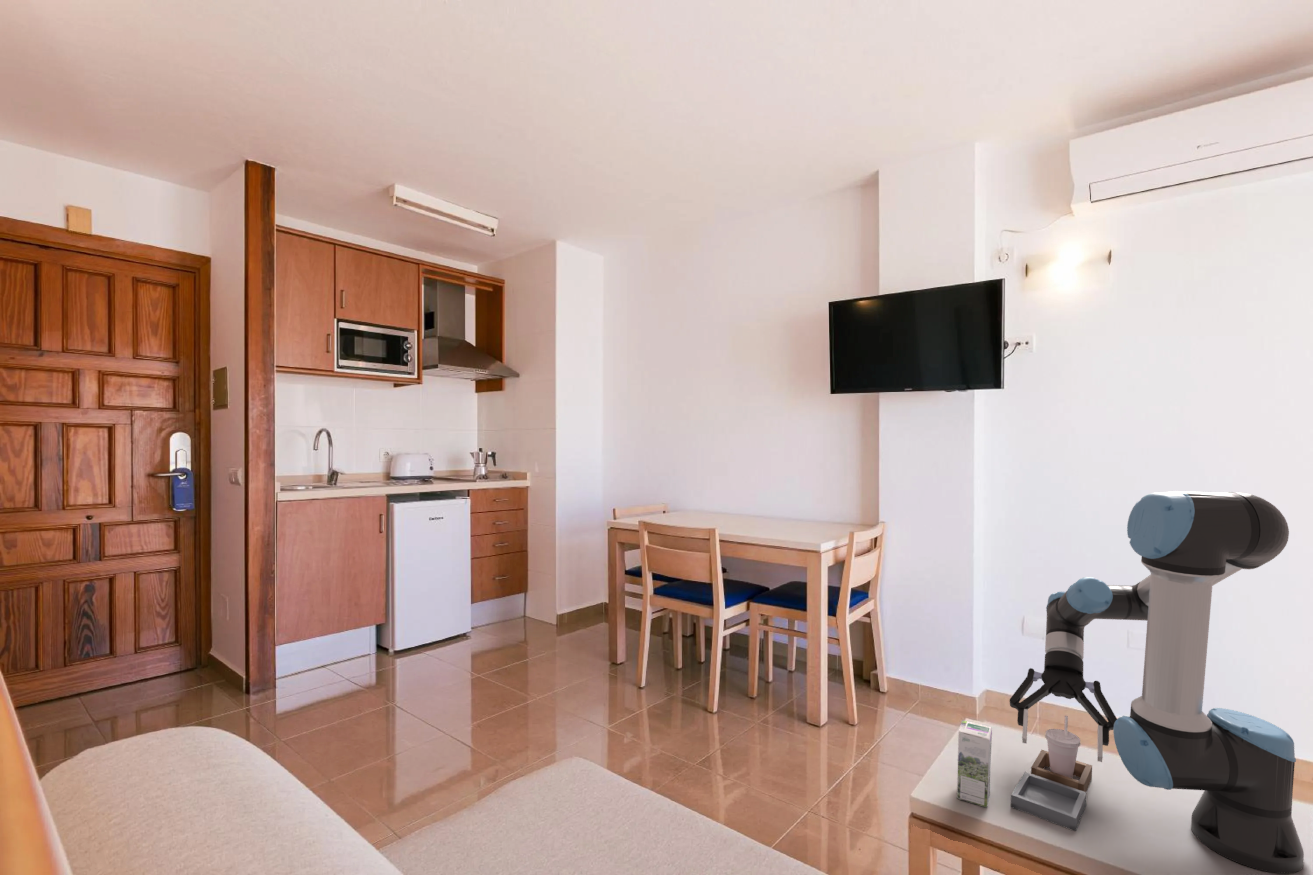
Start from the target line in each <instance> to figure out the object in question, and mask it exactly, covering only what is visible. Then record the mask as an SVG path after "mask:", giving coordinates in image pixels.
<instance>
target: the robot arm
mask: <svg viewBox="0 0 1313 875" xmlns="http://www.w3.org/2000/svg"><path fill="white" fill-rule="evenodd" d="M1127 520H1128V521H1127V525H1126V526H1127V528H1126V532H1127V534H1126V535H1127V538H1129V539H1130V540H1129V544H1130V545H1129V546H1130V547H1131V548H1132V550H1133V551H1134V552H1135V554H1137V555H1139V556H1141V561H1140V563H1141V564H1142V565H1143V566H1144V567H1145V568H1146V569H1147V570H1148V571H1149V572H1150V575H1148V576H1147V577H1145V578H1143V579H1142V580H1141V581H1139V582H1137V583H1136V584H1133V585H1120V584H1119V585H1117V584H1116V585H1115V584H1113V585H1112V584H1107V583H1106V582H1104V581H1103V580H1100V579H1097V578H1096V577H1093V576H1085V577H1082V578H1080V579H1078V580H1077V581H1075V582H1074V583H1073V584H1071V585H1069V587H1068V588H1067V590H1066V591H1057V592H1054V593H1051V594H1050V595H1049V596H1048V599H1047V604H1046V607H1045V609H1046V610H1045V611H1046V621H1045V622H1046V626H1045V627H1046V628H1045V643H1044V644H1045V645H1044V652H1045V654H1044V666H1043V668H1044V669H1043V672H1038V671H1035V669H1034V668H1031V667H1030V668H1029V669H1028V670H1027V676H1026V677H1025V678H1024V680H1023V681H1022V682H1021V684H1020V685H1019V687H1018V688H1017V689H1016V690H1015V692H1014V693H1013V694H1012V696H1011V697H1010V698H1009V707H1011V708H1013V709H1016V710H1017V725H1018V726H1021V727H1022V736H1021V737H1022V738H1021V739H1022V740H1021V742H1022V744H1027V740H1028V737H1027V736H1028V725H1029V724H1028V722H1029V709H1030V708H1032V707H1033V706H1035V704H1037V703H1038V702H1040V701H1041V700H1043V699H1044V698H1045V697H1048V696H1050V695H1053V696H1055V697H1057V698H1058V697H1060V698H1061V697H1062V698H1065V699H1067V700H1068V699H1069V700H1071V699H1075V700H1076V702H1078V704H1080V705H1081V707H1083V708H1084V710H1085V711H1086V712H1087V713H1088V715H1089V716H1090V717H1091V718H1092V719H1093V720H1094V722H1095V723H1096V724H1097V762H1101V763H1103V758H1104V756H1103V753H1104V752H1103V751H1104V750H1103V748H1104V747H1105V746H1106V747H1108V746H1109V744H1110V731H1113V740H1114V745H1115V747H1116V751H1117V753H1118V755H1119V758H1120V759H1121V762H1122V763H1123V765H1124V767H1125V768H1126V770H1127V772H1128V773H1129V774H1130V775H1131V776H1132V777H1133V779H1135V780H1136V781H1137V782H1139V784H1142V785H1143V786H1146V787H1150V788H1157V789H1159V788H1160V789H1164V790H1166V791H1167V790H1168V791H1169V790H1172V789H1173V790H1188V791H1189V790H1193V791H1203V793H1202V794H1201V796H1200V798H1199V800H1198V802H1197V803H1196V806H1195V807H1194V809H1193V811H1192V813H1191V820H1190V828H1191V831H1192V833H1193V835H1194V836H1195V837H1196V838H1197V839H1198V840H1199V841H1200V842H1201V843H1202V844H1204V846H1206V847H1208V848H1209V849H1211V850H1212V851H1214V852H1215V853H1217V854H1219V855H1221V856H1222V857H1224V858H1227V859H1229V860H1230V861H1233V862H1236V863H1238V864H1240V865H1244V866H1246V867H1249V868H1252V869H1256V870H1260V871H1263V872H1269V873H1274V874H1292V873H1297V872H1299V871H1301V870H1302V869H1303V868H1304V856H1305V852H1304V848H1303V845H1302V842H1301V840H1300V837H1299V834H1298V831H1297V828H1296V826H1295V823H1294V820H1293V818H1292V816H1293V814H1292V811H1293V789H1294V777H1295V776H1294V775H1295V764H1296V762H1297V759H1296V755H1295V742H1294V739H1293V738H1292V736H1290V734H1289V733H1288V732H1287V731H1285V730H1284V729H1282V728H1281V727H1279V726H1277V725H1275V724H1273V723H1271V722H1269V721H1267V720H1265V719H1262V718H1260V717H1257V716H1254V715H1252V714H1249V713H1245V712H1242V711H1238V710H1234V709H1229V708H1222V707H1215V708H1214V707H1213V708H1211V709H1209V710H1208V713H1207V714H1206V713H1205V712H1204V711H1203V705H1204V704H1203V703H1204V701H1203V700H1204V690H1205V681H1206V680H1205V679H1206V678H1205V677H1206V666H1207V654H1208V644H1209V642H1208V641H1209V632H1210V631H1209V630H1210V618H1211V606H1212V596H1213V595H1212V594H1213V586H1215V585H1216V584H1218V583H1220V582H1222V581H1223V580H1226V579H1228V578H1229V577H1231V576H1233V575H1234V574H1236V573H1238V572H1239V571H1241V570H1254V569H1258V568H1260V567H1262V566H1263V565H1265V564H1266V563H1269V562H1270V561H1272V560H1273V559H1275V558H1276V557H1278V556H1279V555H1280V554H1281V553H1282V552H1283V550H1284V549H1285V547H1286V546H1287V544H1288V542H1289V536H1290V531H1289V530H1290V529H1289V526H1288V522H1287V520H1286V517H1285V516H1284V515H1283V513H1282V512H1281V511H1280V509H1279V508H1277V507H1276V506H1275V505H1274V504H1272V503H1271V502H1270V501H1268V500H1266V499H1265V498H1262V497H1260V496H1257V495H1253V494H1250V493H1247V492H1239V491H1238V492H1233V491H1231V492H1230V491H1229V492H1216V491H1215V492H1212V491H1210V492H1209V491H1179V490H1171V491H1162V492H1160V491H1158V492H1151V493H1149V494H1146V495H1144V496H1143V497H1141V499H1140V500H1138V501H1136V503H1135V504H1134V506H1133V507H1132V509H1131V511H1130V513H1129V516H1128V519H1127ZM1094 620H1122V621H1123V620H1125V621H1126V620H1127V621H1147V622H1146V623H1147V624H1146V633H1145V634H1146V635H1145V636H1146V637H1145V648H1144V649H1145V650H1144V662H1143V676H1142V689H1141V690H1142V691H1141V696H1138V697H1137V698H1134V699H1133V700H1132V701H1131V703H1130V714H1129V716H1126V715H1122V716H1119V717H1118V718H1117V717H1116V714H1115V712H1114V711H1113V709H1112V708H1111V706H1110V704H1109V702H1108V701H1107V699H1106V697H1105V695H1104V694H1103V691H1102V688H1101V686H1102V685H1101V682H1100V681H1098V680H1094V681H1092V682H1091V681H1085V678H1084V654H1085V652H1084V650H1085V649H1084V648H1085V647H1084V646H1085V645H1084V644H1085V643H1084V637H1085V633H1084V632H1085V627H1086V626H1087V625H1089V624H1090V623H1091V622H1093V621H1094ZM1038 680H1041V681H1042V682H1043V685H1041V687H1040V688H1038V689H1037V690H1035V691H1034V692H1033V693H1031V694H1030V695H1028V696H1027V697H1026V698H1025V699H1023V697H1024V696H1025V695H1026V694H1027V692H1029V690H1030V688H1032V685H1033V684H1034V682H1038ZM1086 689H1088V690H1089V692H1090V693H1091V694H1093V695H1094V698H1095V700H1096V702H1097V704H1098V706H1099V707H1100V709H1101V711H1102V712H1103V714H1104V715H1102V714H1101V713H1100V711H1099V710H1098V709H1097V707H1095V706H1094V704H1093V703H1092V702H1091V701H1090V700H1089V698H1088V697H1087V696H1086V695H1085V693H1084V692H1083V691H1084V690H1086ZM1022 699H1023V700H1022ZM1104 716H1105V717H1104ZM1103 746H1104V747H1103Z"/></svg>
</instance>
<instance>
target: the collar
mask: <svg viewBox="0 0 1313 875" xmlns="http://www.w3.org/2000/svg"><path fill="white" fill-rule="evenodd" d="M1046 767H1047V768H1049V769H1050V761H1049V752H1048V750H1045V749H1041V750H1040V752H1039V753H1038V755H1037V756H1036V758H1035V760H1034V762H1033V764H1032V765H1031V767H1030V773H1031V774H1034V775H1037V776H1040V777H1043V778H1046V779H1048V780H1051V781H1054V782H1057V783H1060V784H1063V785H1066V786H1069V787H1072V788H1075V789H1078V790H1081V791H1084V792H1088V788H1089V786H1090V784H1091V782H1092V779H1093V765H1092V764H1089V763H1085V762H1082V761H1079V760H1076V762H1075V768H1074V773H1073V777H1077V778H1079V780H1078V779H1075V778H1069V777H1066V776H1063V775H1060V774H1057V773H1054V772H1051V770H1047V769H1045V768H1046Z"/></svg>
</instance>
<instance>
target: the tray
mask: <svg viewBox="0 0 1313 875" xmlns="http://www.w3.org/2000/svg"><path fill="white" fill-rule="evenodd" d="M1087 792H1088V791H1087ZM1087 792H1084V791H1081V790H1078V789H1075V788H1072V787H1069V786H1066V785H1063V784H1060V783H1057V782H1054V781H1051V780H1048V779H1046V778H1043V777H1040V776H1037V775H1034V774H1031V772H1027V771H1024V772H1023V774H1022V776H1021V777H1020V779H1019V780H1018V783H1017V784H1016V786H1015V788H1014V789H1013V790H1012V793H1011V795H1010V808H1013V809H1015V810H1018V811H1020V812H1024V813H1025V814H1028V815H1031V816H1035V817H1037V818H1039V819H1042V820H1044V821H1047V822H1050V823H1052V824H1056V825H1058V826H1060V827H1064V828H1066V829H1068V830H1071V831H1073V832H1076V831H1077V829H1078V827H1079V825H1080V824H1079V823H1080V821H1081V818H1082V816H1083V814H1084V811H1085V809H1086V806H1087V797H1088V796H1087V795H1088V794H1087Z"/></svg>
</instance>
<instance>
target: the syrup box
mask: <svg viewBox="0 0 1313 875" xmlns="http://www.w3.org/2000/svg"><path fill="white" fill-rule="evenodd" d="M992 737H993V728H992V726H989V725H984V724H980V723H977V722H973V721H972V722H971V721H968V720H963V719H962V720H961V723H960V725H959V729H958V737H957V738H958V740H957V741H958V743H957V745H958V747H957V778H956V779H957V782H956V783H957V786H956V799H958V800H960V801H963V802H967V803H970V804H974V805H977V806H981V807H983V808H984V807H985V808H988V806H989V801H990V796H991V769H992V768H991V764H992V763H991V761H992V742H993V740H992V739H993V738H992Z"/></svg>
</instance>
